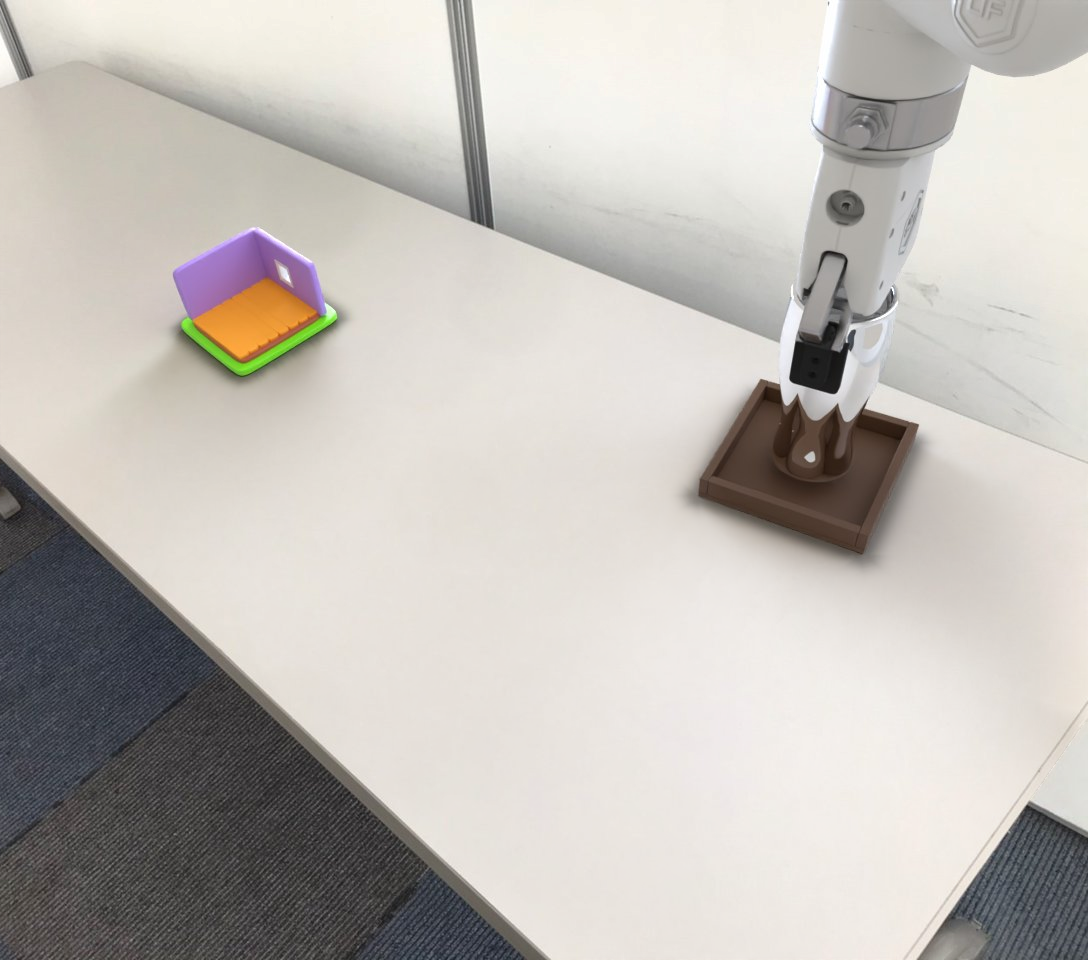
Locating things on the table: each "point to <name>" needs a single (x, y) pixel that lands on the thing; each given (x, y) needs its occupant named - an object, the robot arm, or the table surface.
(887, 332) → the beer glass
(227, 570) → the table surface
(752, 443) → the tray
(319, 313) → the dollhouse room
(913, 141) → the robot arm
